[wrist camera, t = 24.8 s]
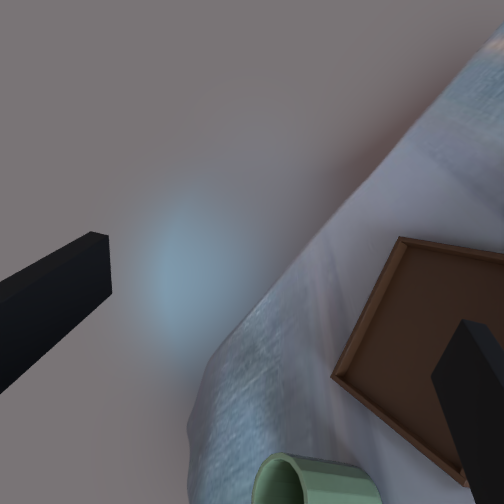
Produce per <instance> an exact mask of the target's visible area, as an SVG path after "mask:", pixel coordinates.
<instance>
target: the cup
mask: <svg viewBox="0 0 504 504" xmlns="http://www.w3.org/2000/svg"><path fill="white" fill-rule="evenodd" d="M251 504H382V500H381V497H380V494H379V492H378V490H377V488H376V486H375V484H374V482H373V481H372V479H371V478H370V477H369V476H368V475H367V474H366V473H365V472H364V471H363V470H362V469H360V468H358V467H357V466H354V465H350V464H347V463H342V462H336V461H330V460H324V459H318V458H312V457H306V456H300V455H294V454H289V453H283V452H280V453H275V454H271V455H270V456H269V457H268V458H267V459H266V460H265V461H264V462H263V463H262V464H261V466H260V468H259V470H258V472H257V474H256V477H255V481H254V486H253V490H252V501H251Z"/></svg>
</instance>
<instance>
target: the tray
mask: <svg viewBox="0 0 504 504" xmlns="http://www.w3.org/2000/svg"><path fill="white" fill-rule="evenodd" d="M461 319H465V320H470V321H474V322H478V323H482V324H486V325H487V327H488V328H489V330H490V331H491V333H492V334H493V335H494V337H495V338H496V340H497V341H498V343H499V344H500V346H501V347H502V349H503V350H504V254H500V253H495V252H489V251H483V250H477V249H471V248H465V247H459V246H453V245H448V244H442V243H436V242H430V241H424V240H418V239H412V238H406V237H401V236H399V237H398V239H397V241H396V243H395V245H394V247H393V249H392V251H391V253H390V255H389V257H388V259H387V262H386V264H385V266H384V268H383V270H382V272H381V274H380V276H379V278H378V280H377V282H376V284H375V286H374V288H373V290H372V292H371V294H370V296H369V298H368V301H367V303H366V305H365V307H364V309H363V311H362V313H361V315H360V317H359V319H358V321H357V323H356V325H355V327H354V329H353V331H352V333H351V335H350V338H349V340H348V342H347V344H346V346H345V348H344V350H343V352H342V354H341V356H340V358H339V360H338V362H337V364H336V366H335V368H334V370H333V373H332V374H331V376H330V378H332V379H333V380H334V381H335V382H336V383H338V384H339V385H340V386H341V387H343V388H344V389H345V390H346V391H347V392H349V393H350V394H351V395H352V396H353V397H355V398H356V399H357V400H358V401H360V402H361V403H362V404H363V405H364V406H366V407H367V408H368V409H369V410H371V411H372V412H373V413H374V414H375V415H377V416H378V417H379V418H380V419H381V420H383V421H384V422H385V423H386V424H388V425H389V426H390V427H391V428H392V429H394V430H395V431H396V432H397V433H399V434H400V435H401V436H402V437H403V438H405V439H406V440H407V441H408V442H409V443H411V444H412V445H413V446H414V447H416V448H417V449H418V450H419V451H420V452H422V453H423V454H424V455H425V456H426V457H428V458H429V459H430V460H431V461H433V462H434V463H435V464H436V465H437V466H439V467H440V468H441V469H442V470H444V471H445V472H446V473H447V474H448V475H450V476H451V477H452V478H453V479H454V480H456V481H457V482H458V483H459V484H461V485H462V486H463V487H469V488H470V486H469V483H468V481H467V478H466V475H465V472H464V469H463V467H462V464H461V461H460V458H459V455H458V453H457V450H456V447H455V444H454V441H453V439H452V436H451V433H450V430H449V427H448V425H447V422H446V419H445V416H444V413H443V411H442V408H441V405H440V402H439V399H438V397H437V394H436V391H435V388H434V386H433V383H432V380H431V377H430V376H431V374H432V372H433V371H434V369H435V367H436V365H437V363H438V361H439V360H440V358H441V356H442V354H443V352H444V350H445V349H446V347H447V345H448V343H449V341H450V339H451V338H452V336H453V334H454V332H455V330H456V329H457V327H458V325H459V323H460V321H461Z"/></svg>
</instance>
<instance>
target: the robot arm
mask: <svg viewBox="0 0 504 504" xmlns="http://www.w3.org/2000/svg"><path fill="white" fill-rule="evenodd" d="M111 294H112V282H111V266H110V250H109V236H108V235H104V234H100V233H96V232H89V233H87V234H85V235H83V236H82V237H80V238H78V239H76V240H75V241H73V242H71V243H69V244H67V245H65V246H64V247H62V248H60V249H58V250H56V251H55V252H53V253H51V254H49V255H48V256H46V257H44V258H42V259H40V260H39V261H37V262H35V263H33V264H31V265H30V266H28V267H26V268H24V269H22V270H21V271H19V272H17V273H15V274H13V275H12V276H10V277H8V278H6V279H4V280H3V281H1V282H0V394H1V393H2V392H3V391H4V390H6V389H7V388H8V387H9V386H10V385H11V384H12V383H13V382H15V381H16V380H17V379H18V378H19V377H20V376H21V375H22V374H23V373H25V372H26V371H27V370H28V369H29V368H30V367H31V366H32V365H33V364H35V363H36V362H37V361H38V360H39V359H40V358H41V357H42V356H43V355H45V354H46V352H48V351H49V350H50V349H51V348H52V347H54V346H55V345H56V344H57V343H58V342H59V341H60V340H61V339H62V338H63V337H65V336H66V335H67V334H68V333H69V332H70V331H71V330H72V329H74V328H75V327H76V326H77V325H78V324H79V323H80V322H81V321H82V320H83V319H85V318H86V317H87V316H88V315H89V314H90V313H91V312H92V311H94V310H95V309H96V308H97V307H98V306H99V305H100V304H101V303H102V302H103V301H104V300H106V299H107V298H108V297H109V296H110V295H111ZM430 377H431V380H432V383H433V386H434V388H435V391H436V394H437V397H438V399H439V402H440V405H441V408H442V411H443V413H444V416H445V419H446V422H447V425H448V427H449V430H450V433H451V436H452V439H453V441H454V444H455V447H456V450H457V453H458V455H459V458H460V461H461V464H462V467H463V469H464V472H465V475H466V478H467V481H468V483H469V486H470V489H471V492H472V495H473V497H474V500H475V503H476V504H504V350H503V349H502V347H501V346H500V344H499V343H498V341H497V340H496V338H495V337H494V335H493V334H492V333H491V331H490V330H489V328H488V327H487V325H486V324H482V323H478V322H474V321H470V320H465V319H461V321H460V323H459V325H458V327H457V329H456V330H455V332H454V334H453V336H452V338H451V339H450V341H449V343H448V345H447V347H446V349H445V350H444V352H443V354H442V356H441V358H440V360H439V361H438V363H437V365H436V367H435V369H434V371H433V372H432V374H431V376H430Z"/></svg>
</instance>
